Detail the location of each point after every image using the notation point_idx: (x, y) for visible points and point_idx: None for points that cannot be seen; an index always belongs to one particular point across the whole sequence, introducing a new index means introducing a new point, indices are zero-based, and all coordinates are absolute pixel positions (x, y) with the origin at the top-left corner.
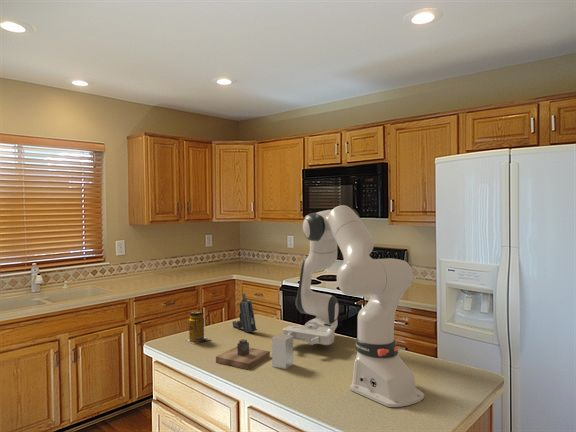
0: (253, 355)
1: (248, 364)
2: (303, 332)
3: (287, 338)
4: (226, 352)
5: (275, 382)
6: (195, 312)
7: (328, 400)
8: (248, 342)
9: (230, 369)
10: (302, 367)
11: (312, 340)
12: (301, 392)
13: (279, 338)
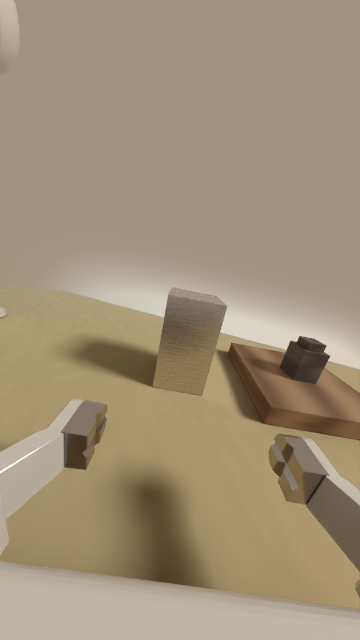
0: (267, 371)
1: (231, 345)
2: (244, 604)
3: (174, 290)
4: (332, 375)
5: (154, 329)
6: None
7: (64, 306)
8: (306, 351)
9: None
10: (116, 374)
11: (65, 410)
12: (105, 315)
13: (195, 292)
